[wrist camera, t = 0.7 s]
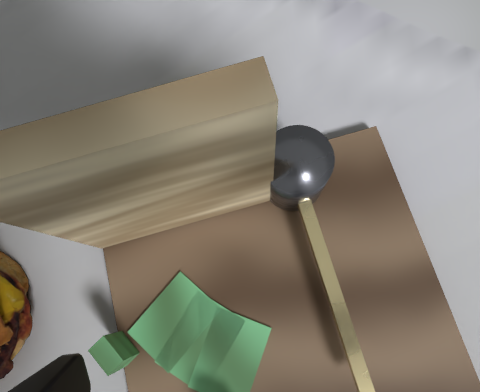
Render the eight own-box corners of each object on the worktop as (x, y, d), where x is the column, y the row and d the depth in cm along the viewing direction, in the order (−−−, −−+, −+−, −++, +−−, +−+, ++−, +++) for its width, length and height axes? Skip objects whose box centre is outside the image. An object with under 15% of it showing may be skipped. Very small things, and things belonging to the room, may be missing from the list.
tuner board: (488, 419, 20) (531, 444, 16) (144, 517, 20) (120, 561, 16) (372, 131, 24) (388, 106, 21) (91, 211, 24) (64, 198, 21)
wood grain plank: (392, 375, 19) (577, 499, 8) (136, 448, 19) (-55, 679, 8) (311, 146, 23) (358, -4, 11) (94, 208, 23) (-83, 122, 11)
